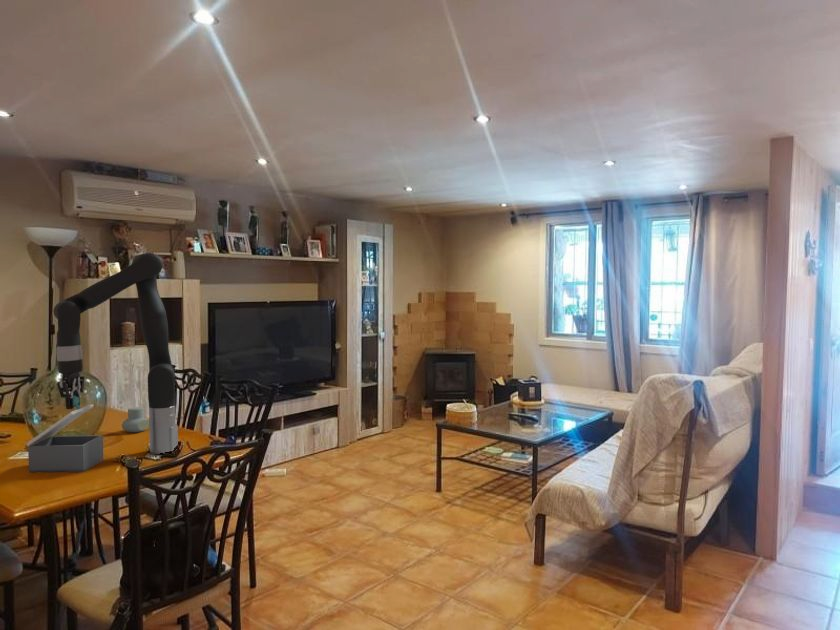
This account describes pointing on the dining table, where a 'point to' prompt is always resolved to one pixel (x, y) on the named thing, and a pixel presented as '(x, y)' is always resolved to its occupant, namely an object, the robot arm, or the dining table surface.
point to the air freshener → (135, 420)
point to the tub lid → (61, 422)
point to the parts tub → (65, 454)
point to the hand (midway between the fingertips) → (73, 407)
